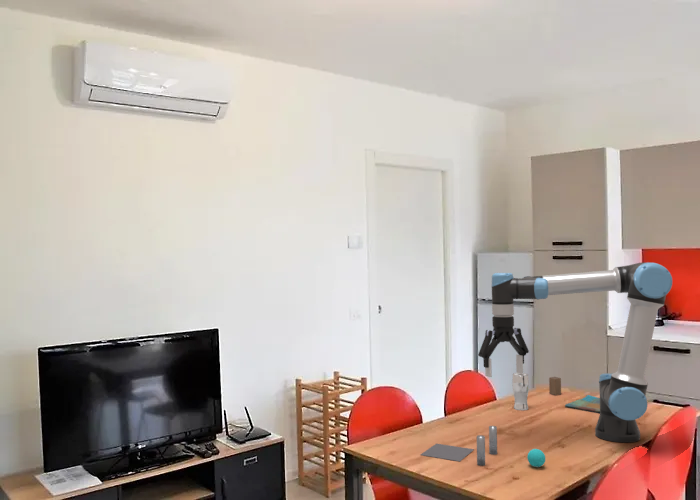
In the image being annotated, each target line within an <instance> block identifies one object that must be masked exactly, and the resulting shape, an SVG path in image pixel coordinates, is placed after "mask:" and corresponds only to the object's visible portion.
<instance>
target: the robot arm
mask: <svg viewBox="0 0 700 500" xmlns="http://www.w3.org/2000/svg"><path fill="white" fill-rule="evenodd" d="M513 275H514V274H513V273H511V272H495V273H493V274H492V276H491V306H492V307H491V308H492V309H491V311H492V315H493V316H492V319H491V320H492V328H493V330H489V329H486V330H485V333H484V335H485V336H484V339H483V341H482V344H481V346H480V349H479V351H478V357H481V358H483V359H482V360H483V368H485V369H484V372H485V377H487V378H492V376H493V375H492V370H493V369H492V358H490V357H491V356H492V354H493V352H494V351H495V350H496V348H497V346H498V345H499V344H500V343H505V342H507V343H509V344H510V345H511V346H512V348H513V349H514V350H515V352H516V353H517V354H516V355H515V359H516V360H515V361H516V364H515V365H516V369H515V370H516V373H520V374H523V373H524V364H525V356H527V354H528V353H530V350H529V348H528V346H527V344H526V342H525V339H524V338H523V335H522V330H521V328H520V327H514V326H515V317H514V315H515V313H514V312H515V308H514V306H515V305H514V300H546V299H547V298H548V297H549V296H555V295H556V296H557V295H571V294H583V293H584V294H585V293H586V294H587V293H600V292H616V293H617V294H623V293H624V294H627V297H626V298H627V300H628V302H629V303H630V307H629V310H628V317H627V321H626V326H625V329H624V330H625V332H624V334H623V335H624V336H623V339H622V340H623V341H622V346H621V351H620V355H619V361H618V366H617V370H616V371H615V372H613V373H607V372H605V373H601V374H600V375H599V378H598V379H599V381H598V383H599V385H598V386H599V398H600V414H599V416H598V420H597V423H596V426H595V430H594V432H595V433H594V434H595V436H596V437H597V438H599V439H601V440H605V441H609V442H615V443H635V442H638V441H640V440H641V431H640V429H639V426H638V423H637V421H636V420H638V419H640V418H642V417H643V416H644V415H645V413H646V411H647V409H648V398H647V397H646V395H647V392H648V391H647V390H648V385H649V384H648V382H647V380H646V379H645V375H646V374H645V373H646V370H647V366H648V360H649V355H650V349H651V345H652V341H653V334H654V330H655V326H656V321H657V315H658V310H659V309H660V308H663V306H665V301H666V298H667V297H666V296H667V295H668V294H669V292H670V291H671V290H672V288H673V276H672V274H671V272H670V271H669V270H668V268H666V267H665V266H663V265H662V264H659V263H656V262H649V261H647V262H645V261H644V262H638V263H637V262H636V263H633V264H629V265H621V266H615V267H614V268H613V269H611V270H610V269H609V270H608V269H607V270H595V271H586V272H583V271H582V272H572V273H560V274H559V273H558V274H548V275H546V274H544V275H536V276H529V275H528V276H523V277H522V278H517V277H514V276H513ZM513 335H514V336H513Z"/></svg>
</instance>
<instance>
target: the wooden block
mask: <svg viewBox="0 0 700 500" xmlns="http://www.w3.org/2000/svg"><path fill="white" fill-rule="evenodd" d="M548 382H549V385H548V386H549V389H548V391H549V395H553V396H561V395H562V379H561V377H557V376H551V377H549V378H548Z"/></svg>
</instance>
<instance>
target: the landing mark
mask: <svg viewBox="0 0 700 500" xmlns="http://www.w3.org/2000/svg"><path fill="white" fill-rule="evenodd" d="M473 451H475V449H474V448H467V447H463V446H455V445H449V444H442V443H435V444H433V445H432V446H431V447H429V448H428V449H426V450H425V451H423V452H422V453H420V454H419V455H420V456H421V457H422V456H424V457H429V458H435V459H441V460H447V461H453V462H458V463H459V462H462V461H463V460H464V459H465V458H466V457H467V456H469V454H471V453H472V452H473Z"/></svg>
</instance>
